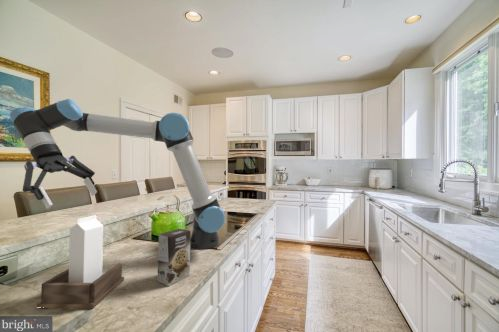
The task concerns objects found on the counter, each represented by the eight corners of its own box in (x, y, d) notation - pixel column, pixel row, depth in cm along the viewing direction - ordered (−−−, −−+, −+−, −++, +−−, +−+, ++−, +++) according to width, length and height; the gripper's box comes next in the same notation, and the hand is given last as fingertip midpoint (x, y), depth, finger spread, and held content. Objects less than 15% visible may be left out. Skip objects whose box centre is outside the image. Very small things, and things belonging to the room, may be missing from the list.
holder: (124, 280, 73) (124, 262, 74) (92, 308, 58) (93, 285, 59) (79, 280, 73) (79, 261, 73) (36, 308, 58) (37, 285, 58)
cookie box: (169, 287, 70) (170, 236, 70) (156, 281, 73) (157, 233, 73) (190, 275, 77) (191, 230, 78) (178, 270, 81) (179, 227, 81)
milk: (67, 292, 64) (69, 218, 64) (88, 282, 70) (89, 214, 70) (83, 296, 62) (84, 219, 62) (102, 285, 68) (103, 215, 68)
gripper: (78, 150, 88) (105, 193, 87) (-12, 159, 65) (22, 219, 64) (86, 139, 85) (114, 184, 83) (-6, 146, 62) (30, 208, 61)
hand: (74, 199), depth 74 cm, fingers open, 13 cm apart
